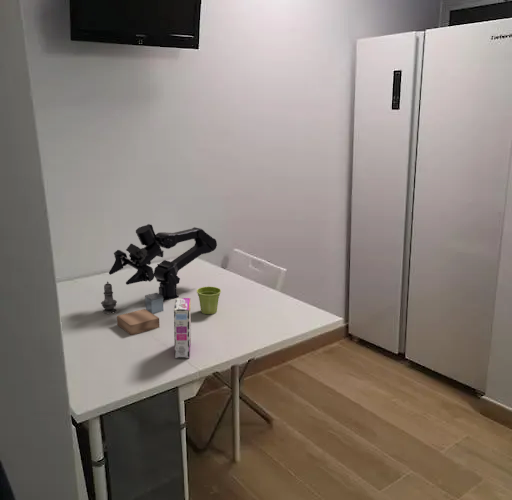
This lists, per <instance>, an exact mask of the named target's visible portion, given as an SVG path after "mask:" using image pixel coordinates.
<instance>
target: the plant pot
mask: <svg viewBox="0 0 512 500" xmlns="http://www.w3.org/2000/svg"><path fill="white" fill-rule="evenodd" d="M221 293H222V289H221V288H219V287H217V286H203V287H199V288H197V289H196V294H197V296H198V300H199V307H200V312H201V313H202V314H204V315H210V314H212V315H213V314H216V313H217V312H218V305H219V299H220V295H221Z"/></svg>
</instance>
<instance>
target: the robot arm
mask: <svg viewBox="0 0 512 500" xmlns="http://www.w3.org/2000/svg"><path fill="white" fill-rule="evenodd" d="M135 233H136V234H135V235H136V236H137V237H138V238H137V239H138V240H139V242H140V244H141V246H144V247H141V248H140V247H139V246H137V245H136V244H134V243H130V244H129V245H128V247H127V248H126V249H125V251H127V252H128V253H129V255H128V256H129V258H128V256H127V253H126V252H124V251H122V250H121V249H117V250H115V251H114V252H113V255H114V258H115V259H114V260H115V261H114V263H113V265H112V266H111V269H110V270H109V272H108V275H113V274H115V273H117V272H119V271H121V270H123V269H124V267H126V266H127V265H129V266H130V267H132V268H134V269H135V270H136V272H135V273H134V274H133V275H131V276H130V278H128V280H126V281H125V284H126V285H128V286H129V285H131V284H135V283H141V282H150V283H151V282H152V281H153V280H154V279H156V283H157V282H158V283H159V286H158V294H160V295H162V296H163V301H168V300H171V299H175V298H179V297H180V296H179V294H178V289H177V288H178V284H180V280H181V278H180V277H179V276H178V273H179V271H180V270H181V269H183V268H184V267H186V266H187V265H188V264H190V263H192V262H193V261H194V260H195V259H197V258H198V257H200V256H201V255H206V254H211V252H213V251H215V250H216V249H217V246H218V244H217V240H216V239H215V238H214V237H212V236H211V235H210V234H208V233H207V232H205V230H204V229H202V228H200V227H195V226H194V227H192V228H189V229H183V230H179V231H175V232H157V233H156V232H155V230H154V227H153V225H152V224H149V223H148V224H146V225H143V226H139V227H138V228H137V229H136V230H135ZM192 240H194V245H193V246H192V247H190V248H189V249H188V250H186V251H185V252H183V253H181V254H180V255H178V256H177V257H176V258H174V259H173V260H171V261H169V260H166V259H164V260H161V262H160V263H157V265H156V266H155V268H154V269H153V267H152V266H150V265H151V264H152V263H151V262H152V260H154V259H155V258H156V257H160V258H164V252H165V251H164V250H162V248H164V249H167V250H169V249H172V248H173V247H176V246H177V244H180V243H183V242H186V241H192Z"/></svg>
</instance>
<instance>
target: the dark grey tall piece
mask: <svg viewBox="0 0 512 500" xmlns="http://www.w3.org/2000/svg"><path fill="white" fill-rule="evenodd" d="M112 285H113V284H111V283H109V281H108V280H107V281H106V283H105V284H104V285H103V289H104V292H103V293H102V294H103V295H104V300H102V301H101V302H100V304H101V307H102V308H103V310H102V311H103V312H104V313H103V312H102V313H103V314H106V313H109V314H114V313H116V312H117V309H116V305H117V302H118V301H117V300H115V299H114V297H113V295H114V292H113V286H112ZM113 312H114V313H113Z"/></svg>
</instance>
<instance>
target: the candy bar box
mask: <svg viewBox="0 0 512 500" xmlns="http://www.w3.org/2000/svg"><path fill="white" fill-rule="evenodd" d="M191 308H192V307H191V298H190V297H181V298H179V297H176V299H175V302H174V308H173V321H174V322H173V325H174V326H173V330H174V332H173V333H174V359H190V358H191V357H190V356H191V345H192V338H191V337H192V333H191V332H192V331H191V330H192V329H191V328H192V327H191V326H192V324H191V323H192V322H191V319H192V318H191V315H192V313H191Z"/></svg>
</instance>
